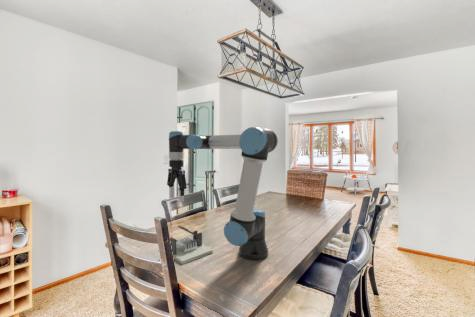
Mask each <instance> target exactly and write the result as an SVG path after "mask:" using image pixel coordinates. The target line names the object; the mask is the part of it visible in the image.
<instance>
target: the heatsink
mask: <svg viewBox="0 0 475 317" xmlns="http://www.w3.org/2000/svg"><path fill="white" fill-rule="evenodd" d="M190 238H191V237H188V236H186V237H183V238H181V239H180V238H179V239H176V240H177V241H176V242H177V245H176V249H178V250H180V251H181V252H183V253H187V252H190V251H193V250H196V249H198V246H197V242H196V241H194V240H192V239H193V238H191V239H190Z"/></svg>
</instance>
